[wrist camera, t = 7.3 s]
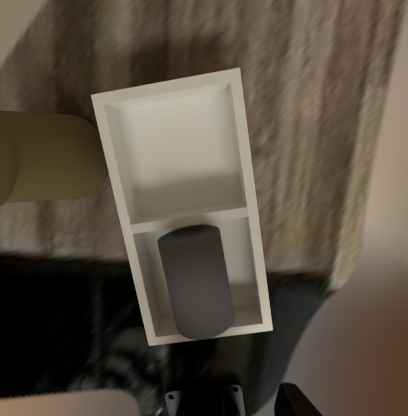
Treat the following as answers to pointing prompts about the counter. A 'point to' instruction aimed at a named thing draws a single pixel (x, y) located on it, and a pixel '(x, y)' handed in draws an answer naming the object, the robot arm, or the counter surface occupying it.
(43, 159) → the cork
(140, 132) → the slot tray
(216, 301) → the dark grey cylinder
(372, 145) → the counter surface
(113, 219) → the counter surface
